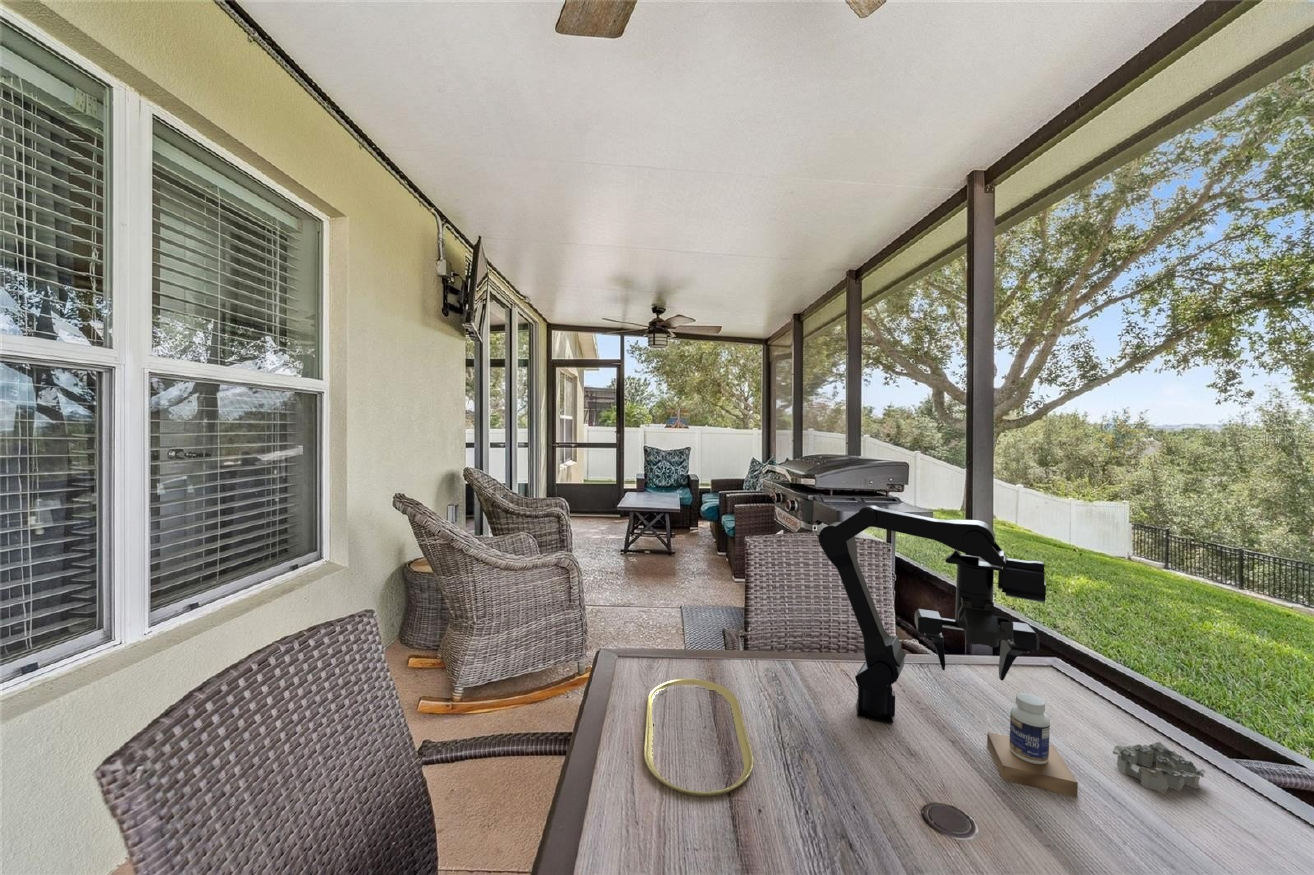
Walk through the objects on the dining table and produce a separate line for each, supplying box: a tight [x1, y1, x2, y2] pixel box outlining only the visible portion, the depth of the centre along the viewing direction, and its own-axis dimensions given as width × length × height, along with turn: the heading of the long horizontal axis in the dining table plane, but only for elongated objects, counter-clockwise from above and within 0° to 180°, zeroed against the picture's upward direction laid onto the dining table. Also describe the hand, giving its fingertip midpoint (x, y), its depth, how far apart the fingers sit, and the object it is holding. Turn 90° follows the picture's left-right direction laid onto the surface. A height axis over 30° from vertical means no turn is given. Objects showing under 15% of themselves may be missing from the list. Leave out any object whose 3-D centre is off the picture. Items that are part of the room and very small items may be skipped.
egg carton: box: [1112, 741, 1207, 794], centre depth 84 cm, size 11×8×4 cm
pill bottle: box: [1009, 692, 1051, 764], centre depth 85 cm, size 5×5×10 cm
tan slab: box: [986, 731, 1079, 798], centre depth 85 cm, size 10×10×2 cm
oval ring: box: [643, 678, 754, 797], centre depth 94 cm, size 19×35×2 cm, turn 179°
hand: (971, 674), depth 91 cm, fingers open, 9 cm apart
